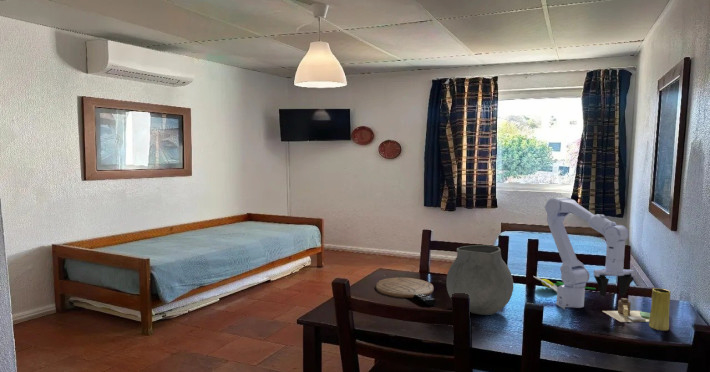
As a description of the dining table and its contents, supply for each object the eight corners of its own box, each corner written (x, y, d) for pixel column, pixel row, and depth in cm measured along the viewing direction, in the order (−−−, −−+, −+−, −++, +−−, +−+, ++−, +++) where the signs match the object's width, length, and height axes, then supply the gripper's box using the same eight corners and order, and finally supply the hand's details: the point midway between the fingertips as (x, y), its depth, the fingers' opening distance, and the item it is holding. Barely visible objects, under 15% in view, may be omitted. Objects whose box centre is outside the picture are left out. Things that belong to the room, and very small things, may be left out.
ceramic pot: (467, 297, 195) (470, 238, 193) (523, 312, 178) (526, 247, 175) (432, 310, 178) (435, 246, 176) (490, 329, 160) (493, 257, 158)
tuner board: (620, 325, 167) (620, 319, 166) (601, 314, 178) (602, 308, 177) (662, 324, 168) (663, 319, 168) (641, 313, 179) (642, 308, 179)
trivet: (402, 278, 222) (402, 274, 222) (445, 290, 204) (445, 286, 204) (364, 288, 205) (364, 284, 205) (407, 302, 187) (407, 298, 187)
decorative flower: (584, 290, 216) (526, 283, 211) (587, 280, 216) (528, 273, 210) (603, 300, 204) (541, 293, 198) (606, 289, 203) (543, 282, 198)
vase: (644, 327, 165) (646, 287, 164) (660, 327, 166) (663, 287, 164) (656, 334, 159) (659, 293, 158) (673, 333, 159) (676, 293, 158)
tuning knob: (617, 310, 178) (618, 296, 178) (629, 311, 176) (630, 298, 176) (619, 318, 170) (620, 304, 169) (631, 320, 168) (632, 305, 167)
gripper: (603, 261, 164) (601, 299, 166) (641, 261, 166) (638, 298, 167) (591, 256, 171) (588, 292, 173) (627, 256, 173) (624, 292, 174)
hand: (612, 295), depth 170 cm, fingers open, 7 cm apart
